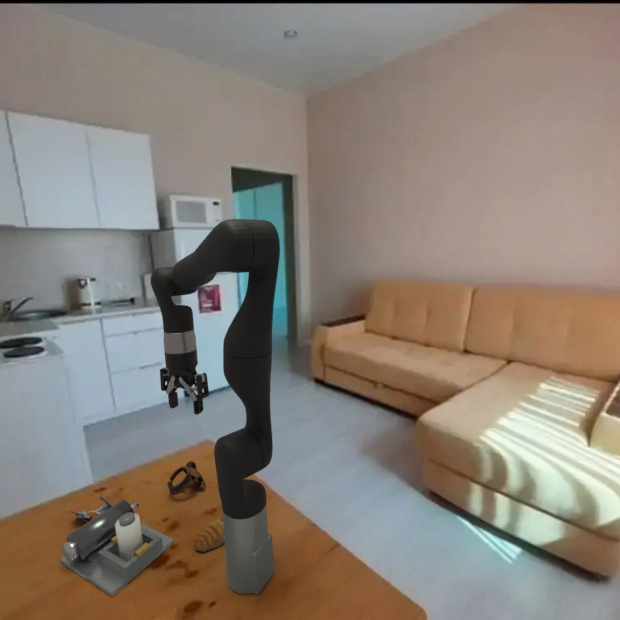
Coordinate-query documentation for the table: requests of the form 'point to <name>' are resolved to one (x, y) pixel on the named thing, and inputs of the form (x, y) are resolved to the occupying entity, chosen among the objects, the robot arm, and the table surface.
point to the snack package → (98, 511)
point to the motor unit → (110, 550)
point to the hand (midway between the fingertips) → (186, 410)
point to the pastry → (210, 536)
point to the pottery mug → (188, 480)
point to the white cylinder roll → (128, 535)
